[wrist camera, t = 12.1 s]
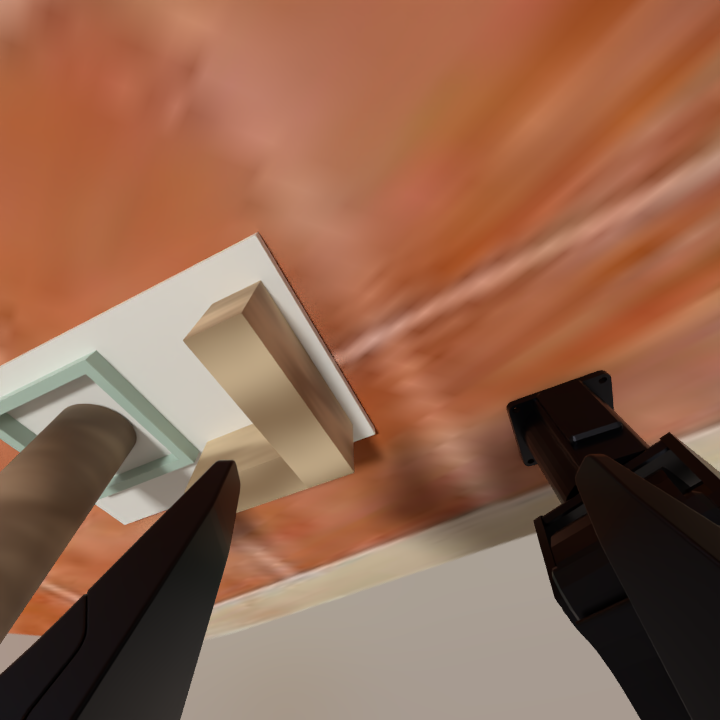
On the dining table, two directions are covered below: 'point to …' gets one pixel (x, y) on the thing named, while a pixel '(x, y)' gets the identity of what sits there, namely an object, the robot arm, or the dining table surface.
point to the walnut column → (54, 496)
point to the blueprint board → (157, 377)
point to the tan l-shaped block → (270, 401)
